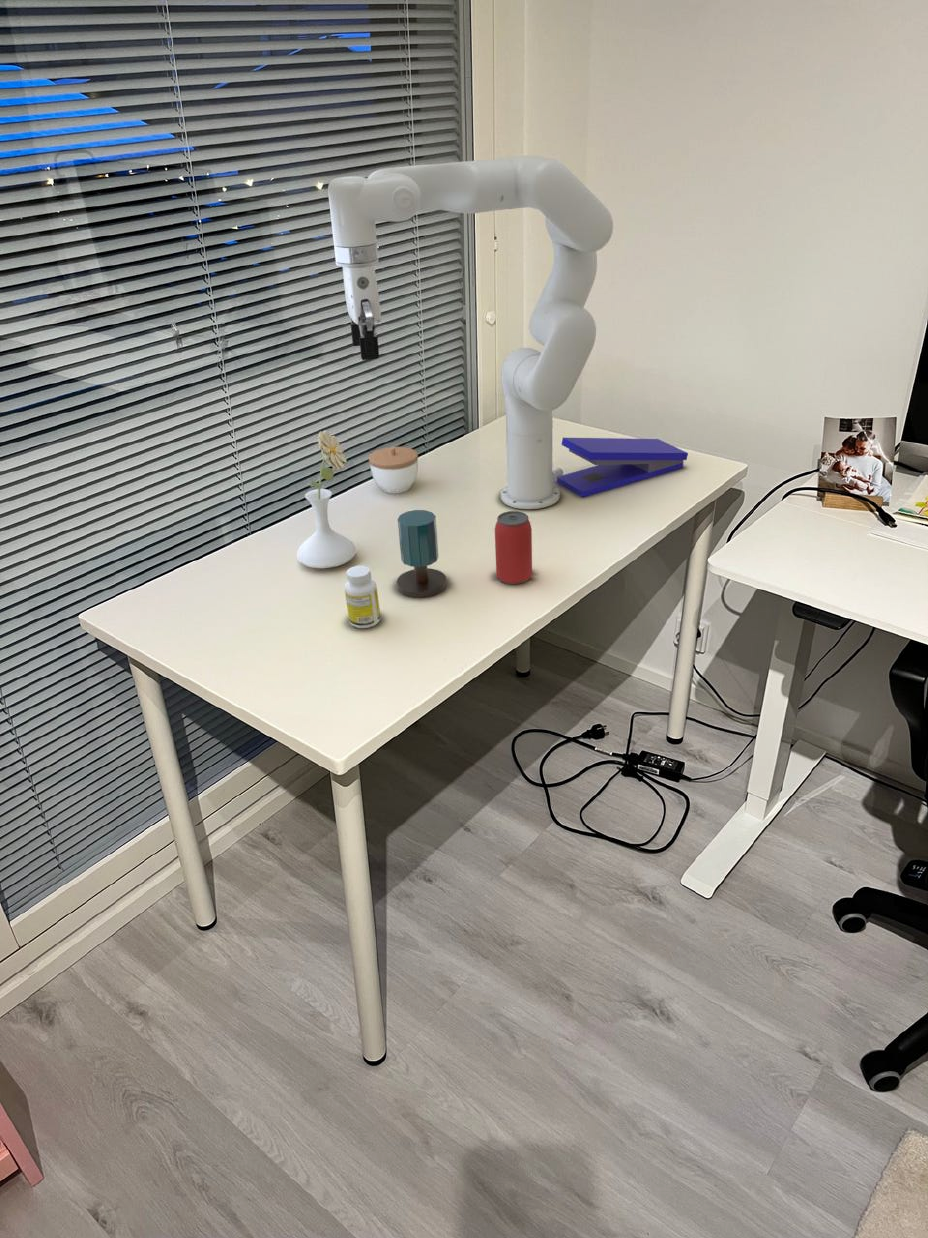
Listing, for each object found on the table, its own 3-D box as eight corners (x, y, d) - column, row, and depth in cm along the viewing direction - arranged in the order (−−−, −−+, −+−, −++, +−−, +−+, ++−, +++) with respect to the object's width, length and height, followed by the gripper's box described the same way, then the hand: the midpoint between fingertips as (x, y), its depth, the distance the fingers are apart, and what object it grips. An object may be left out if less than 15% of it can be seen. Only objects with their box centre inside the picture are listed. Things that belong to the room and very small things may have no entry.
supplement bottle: (364, 609, 168) (358, 560, 163) (387, 618, 165) (381, 568, 160) (342, 623, 165) (335, 573, 159) (365, 632, 162) (358, 582, 156)
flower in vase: (332, 579, 178) (315, 452, 165) (285, 566, 183) (265, 442, 170) (373, 550, 187) (360, 428, 174) (327, 538, 193) (311, 419, 180)
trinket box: (429, 483, 214) (426, 444, 209) (401, 501, 206) (397, 460, 202) (391, 475, 219) (388, 436, 214) (362, 492, 212) (357, 452, 207)
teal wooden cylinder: (418, 546, 175) (415, 506, 171) (445, 555, 172) (442, 515, 168) (394, 560, 171) (390, 520, 167) (421, 570, 168) (418, 529, 163)
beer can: (532, 568, 178) (532, 509, 172) (531, 585, 172) (530, 525, 166) (497, 568, 179) (495, 509, 172) (495, 585, 173) (492, 525, 167)
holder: (419, 569, 180) (414, 505, 173) (456, 582, 175) (452, 517, 168) (387, 588, 174) (380, 524, 167) (424, 602, 169) (419, 536, 162)
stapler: (555, 481, 212) (555, 439, 207) (655, 452, 223) (657, 412, 218) (585, 498, 203) (586, 455, 198) (688, 468, 214) (691, 426, 209)
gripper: (386, 261, 161) (394, 362, 170) (369, 244, 176) (377, 337, 185) (342, 265, 160) (353, 367, 169) (328, 247, 174) (338, 342, 183)
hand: (365, 351), depth 177 cm, fingers open, 9 cm apart
